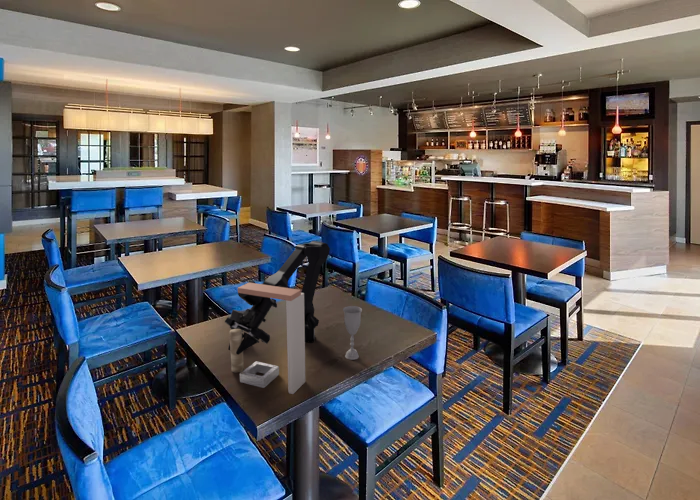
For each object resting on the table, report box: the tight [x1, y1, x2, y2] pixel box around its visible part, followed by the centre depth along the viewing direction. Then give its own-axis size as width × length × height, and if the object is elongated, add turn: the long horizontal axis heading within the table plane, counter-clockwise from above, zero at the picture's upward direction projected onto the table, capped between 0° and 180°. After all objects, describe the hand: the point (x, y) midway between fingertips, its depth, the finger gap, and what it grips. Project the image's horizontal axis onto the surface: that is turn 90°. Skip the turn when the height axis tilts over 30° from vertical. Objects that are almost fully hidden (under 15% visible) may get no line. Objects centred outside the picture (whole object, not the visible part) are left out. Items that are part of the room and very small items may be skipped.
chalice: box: [342, 305, 363, 360], centre depth 154 cm, size 7×7×18 cm
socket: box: [239, 360, 280, 389], centre depth 140 cm, size 9×9×3 cm
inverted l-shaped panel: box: [237, 281, 306, 395], centre depth 135 cm, size 8×19×32 cm, turn 67°
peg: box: [229, 329, 245, 374], centre depth 144 cm, size 4×4×14 cm
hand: (233, 352), depth 143 cm, fingers closed on peg, 4 cm apart
